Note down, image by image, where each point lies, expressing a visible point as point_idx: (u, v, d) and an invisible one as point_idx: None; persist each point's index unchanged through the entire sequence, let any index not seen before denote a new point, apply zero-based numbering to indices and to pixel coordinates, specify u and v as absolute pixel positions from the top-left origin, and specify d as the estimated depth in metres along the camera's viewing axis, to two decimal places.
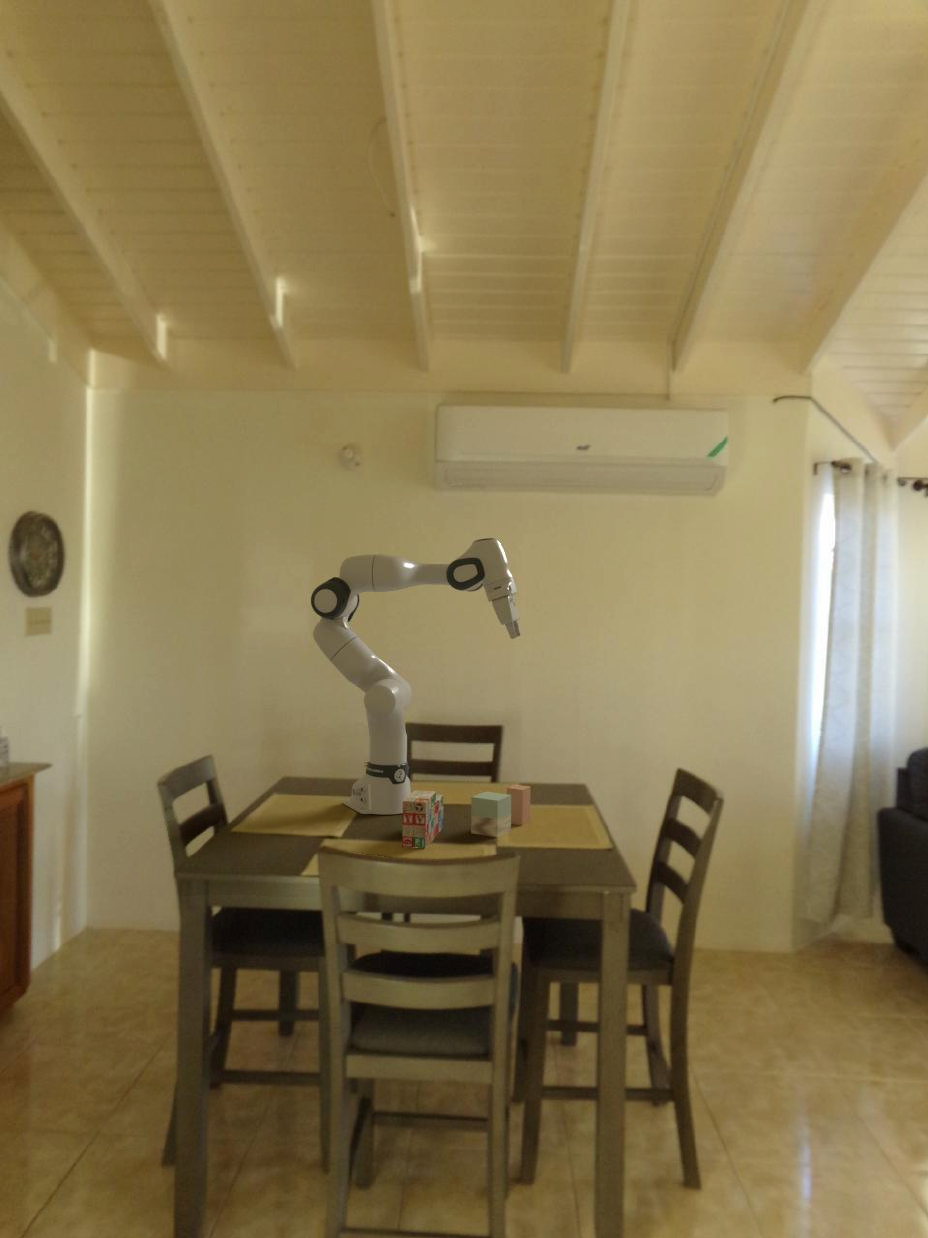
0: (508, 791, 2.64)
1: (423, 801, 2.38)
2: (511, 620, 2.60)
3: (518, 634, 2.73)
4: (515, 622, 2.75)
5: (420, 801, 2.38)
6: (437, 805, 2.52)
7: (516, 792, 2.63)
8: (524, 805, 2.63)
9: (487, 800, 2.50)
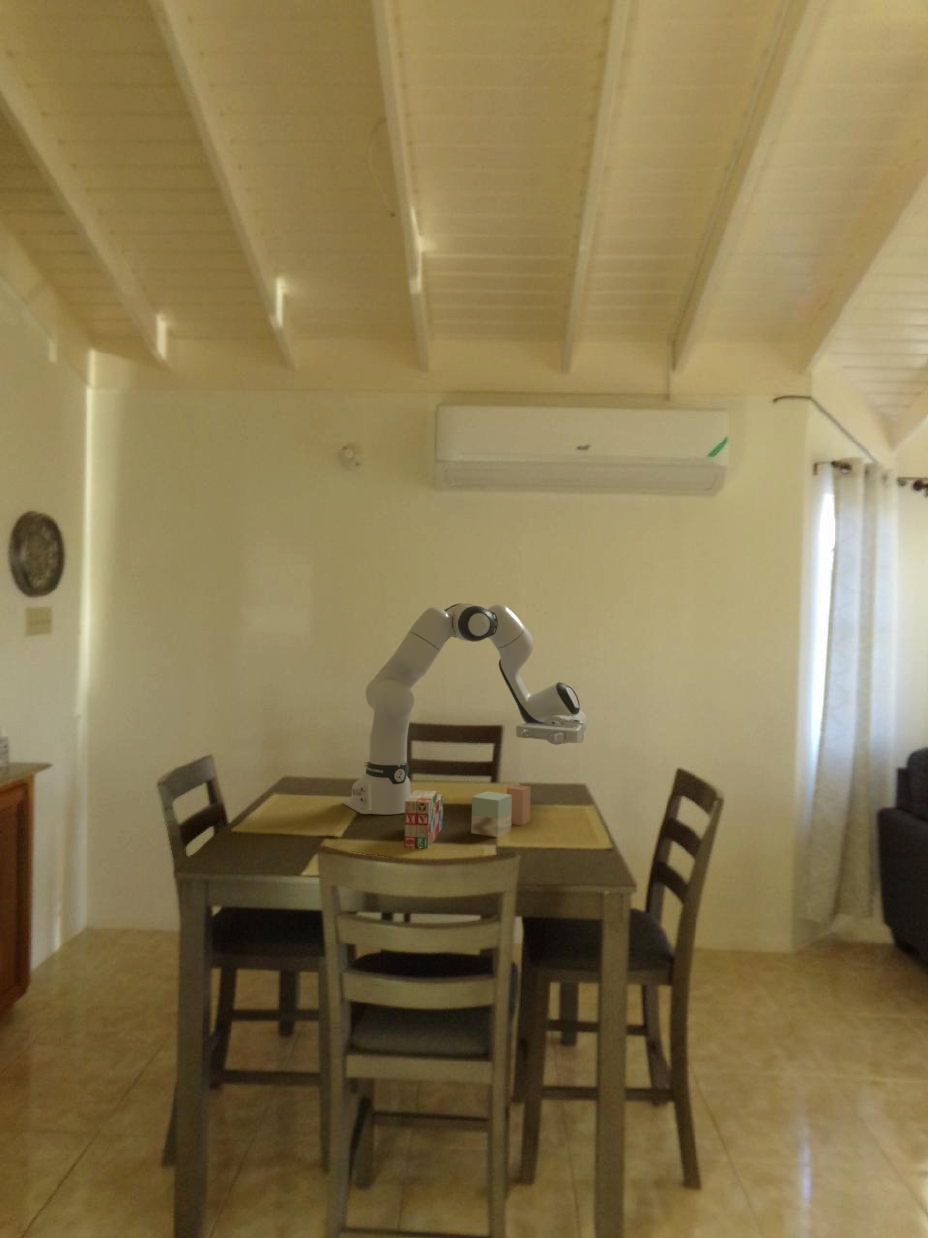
0: (508, 791, 2.64)
1: (426, 801, 2.38)
2: (575, 741, 2.75)
3: (526, 736, 2.77)
4: (528, 735, 2.81)
5: (423, 801, 2.38)
6: (437, 805, 2.52)
7: (516, 792, 2.63)
8: (524, 805, 2.63)
9: (488, 800, 2.51)
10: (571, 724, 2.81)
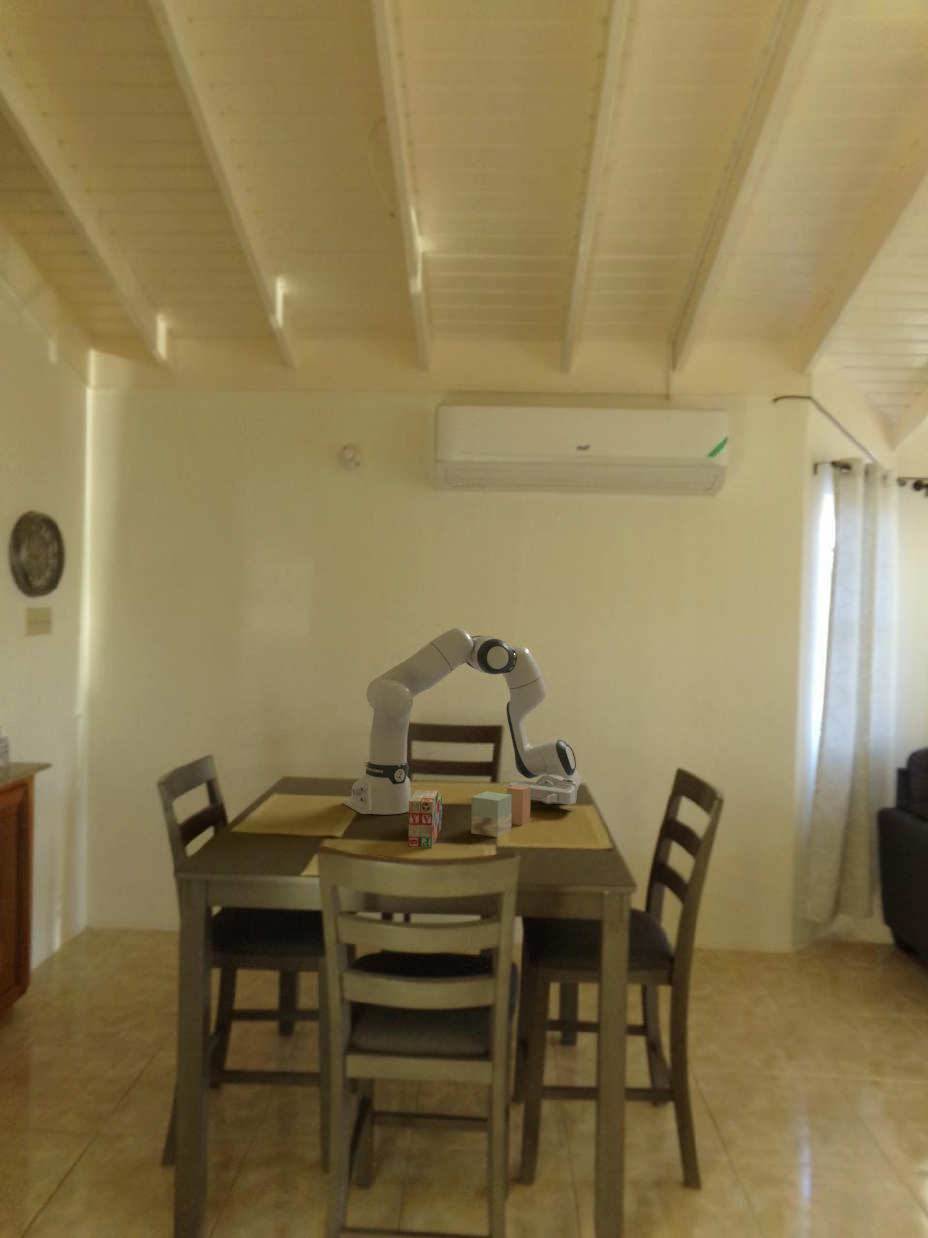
0: (508, 791, 2.64)
1: (429, 801, 2.39)
2: (568, 803, 2.73)
3: None
4: None
5: (426, 801, 2.39)
6: (438, 804, 2.52)
7: (516, 792, 2.63)
8: (524, 805, 2.63)
9: (487, 800, 2.51)
10: (564, 785, 2.79)
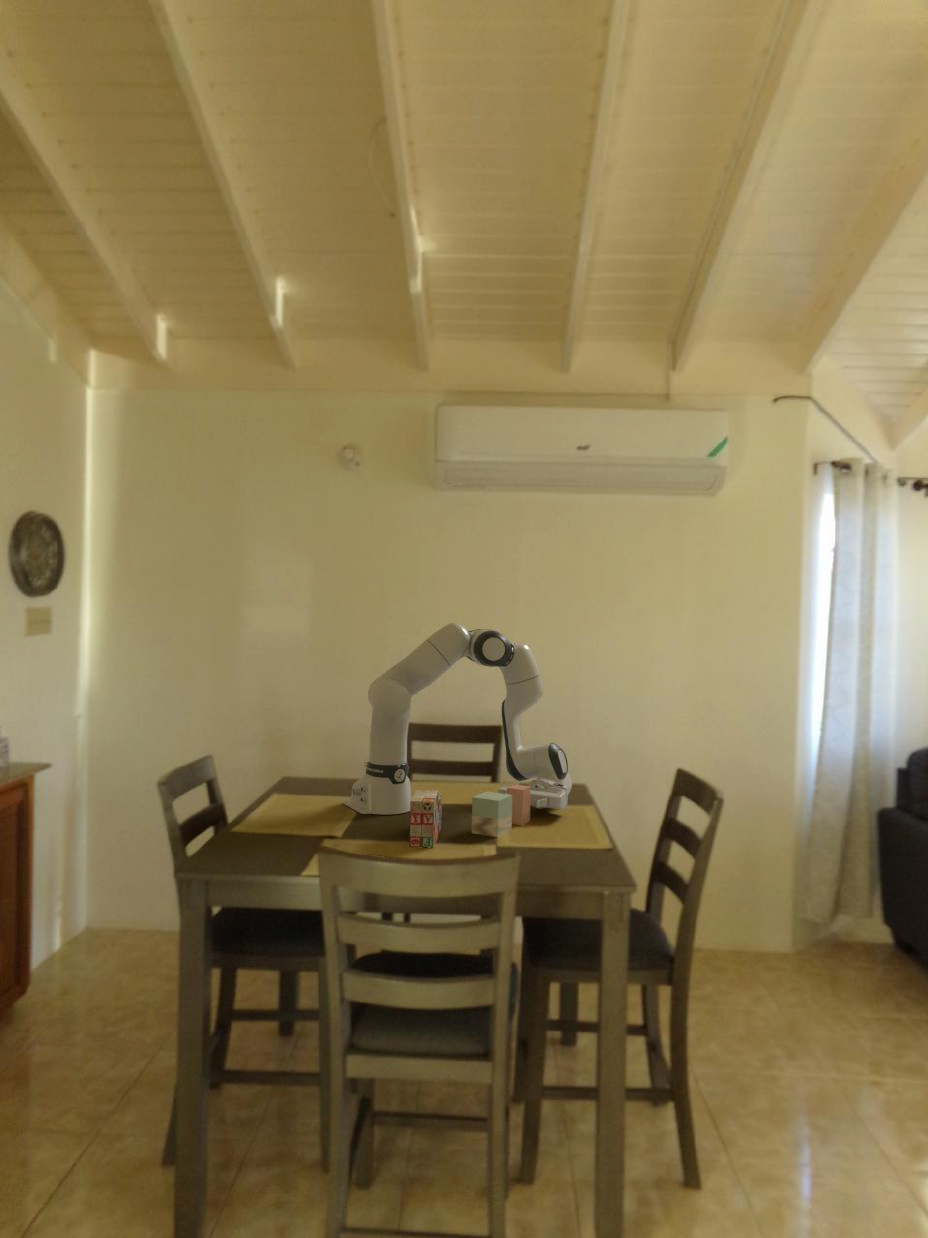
0: (508, 791, 2.64)
1: (431, 800, 2.39)
2: (558, 808, 2.66)
3: None
4: None
5: (428, 801, 2.39)
6: (438, 804, 2.52)
7: (516, 792, 2.63)
8: (524, 805, 2.63)
9: (488, 800, 2.50)
10: (555, 789, 2.73)
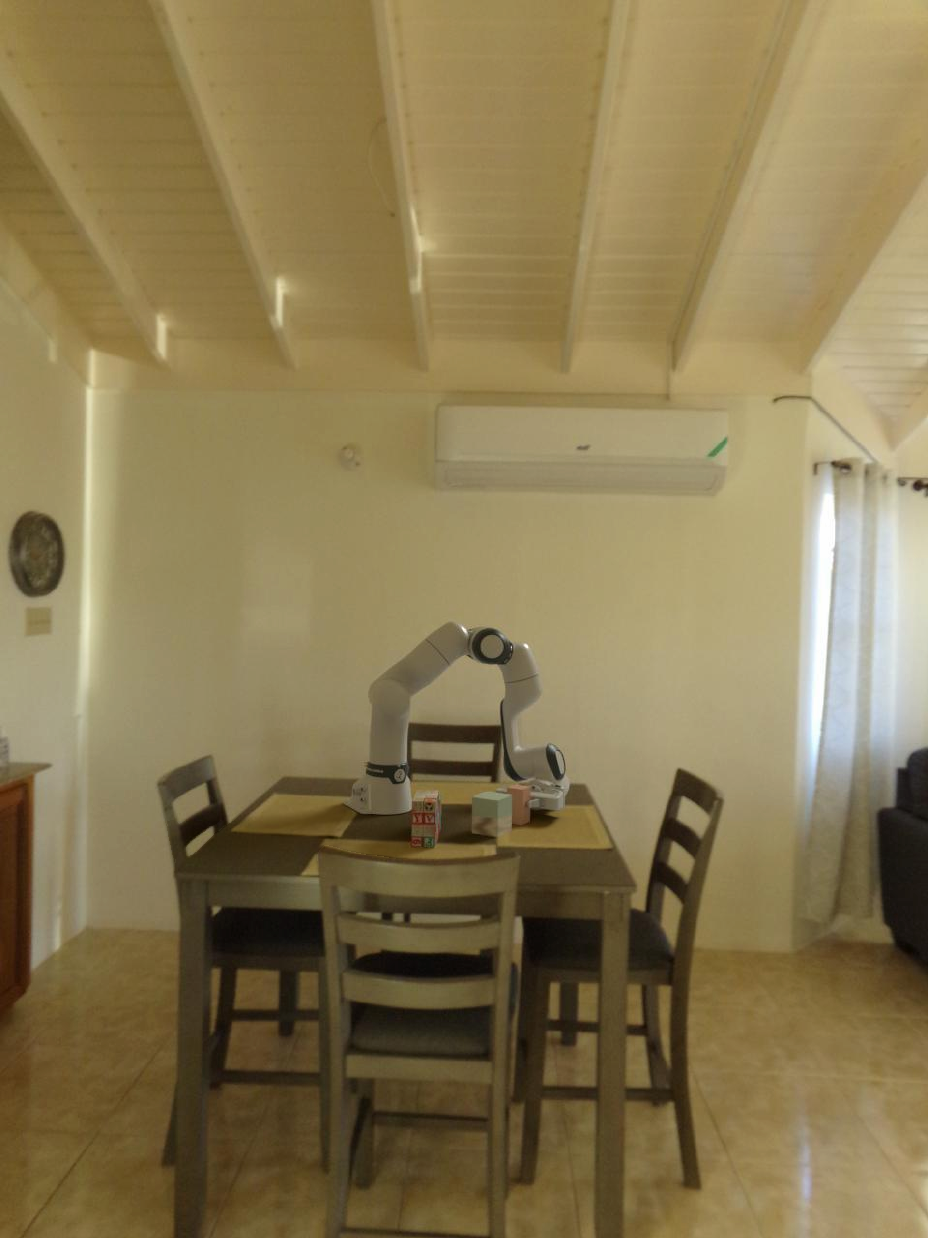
0: (508, 791, 2.64)
1: (432, 800, 2.39)
2: (555, 809, 2.64)
3: None
4: None
5: (429, 800, 2.39)
6: (438, 804, 2.53)
7: (516, 792, 2.63)
8: (524, 805, 2.63)
9: (487, 800, 2.51)
10: (552, 790, 2.71)
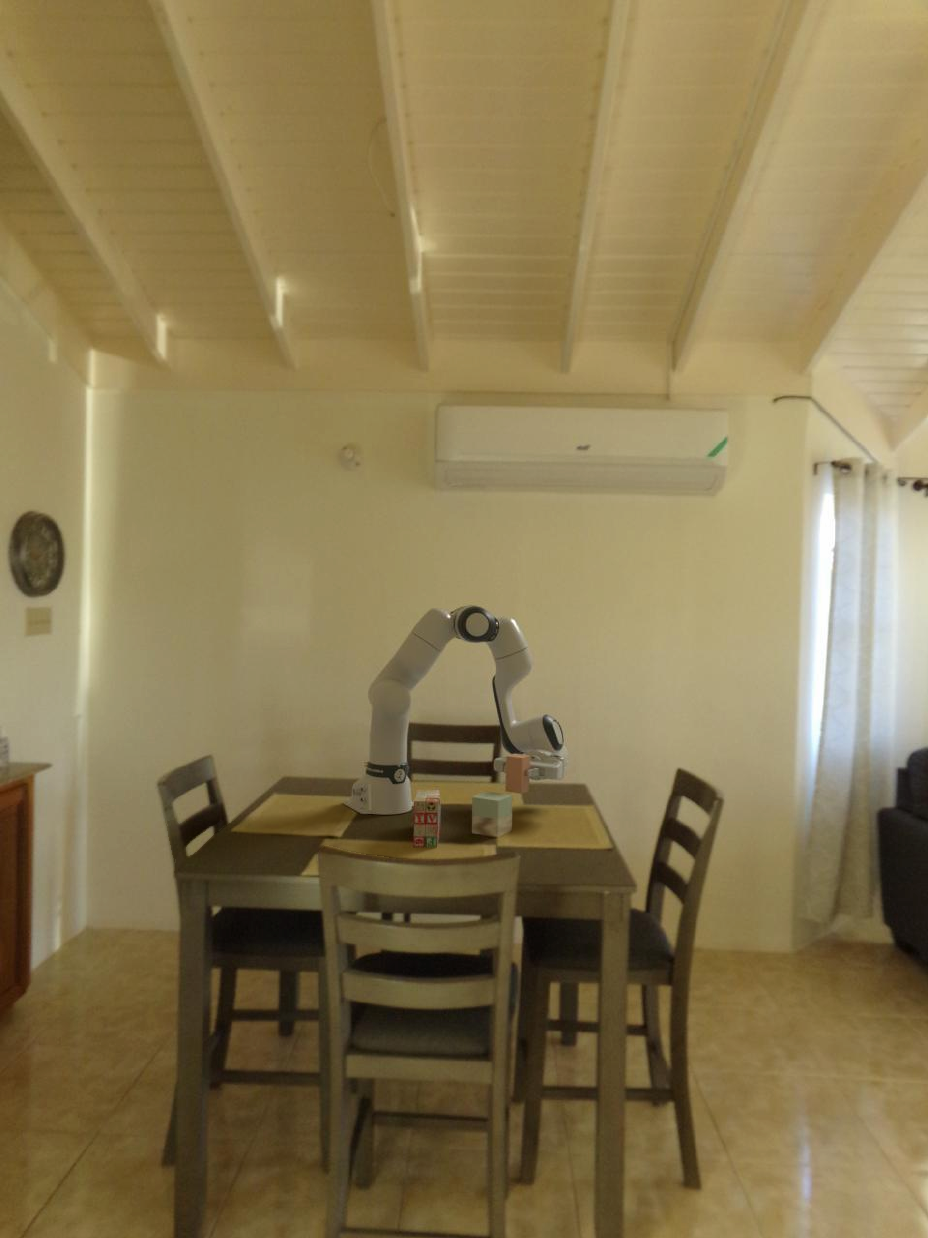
0: (507, 759, 2.64)
1: (434, 800, 2.39)
2: (554, 778, 2.64)
3: None
4: None
5: (431, 800, 2.39)
6: (439, 804, 2.53)
7: (516, 760, 2.62)
8: (523, 774, 2.63)
9: (488, 800, 2.51)
10: (551, 760, 2.71)
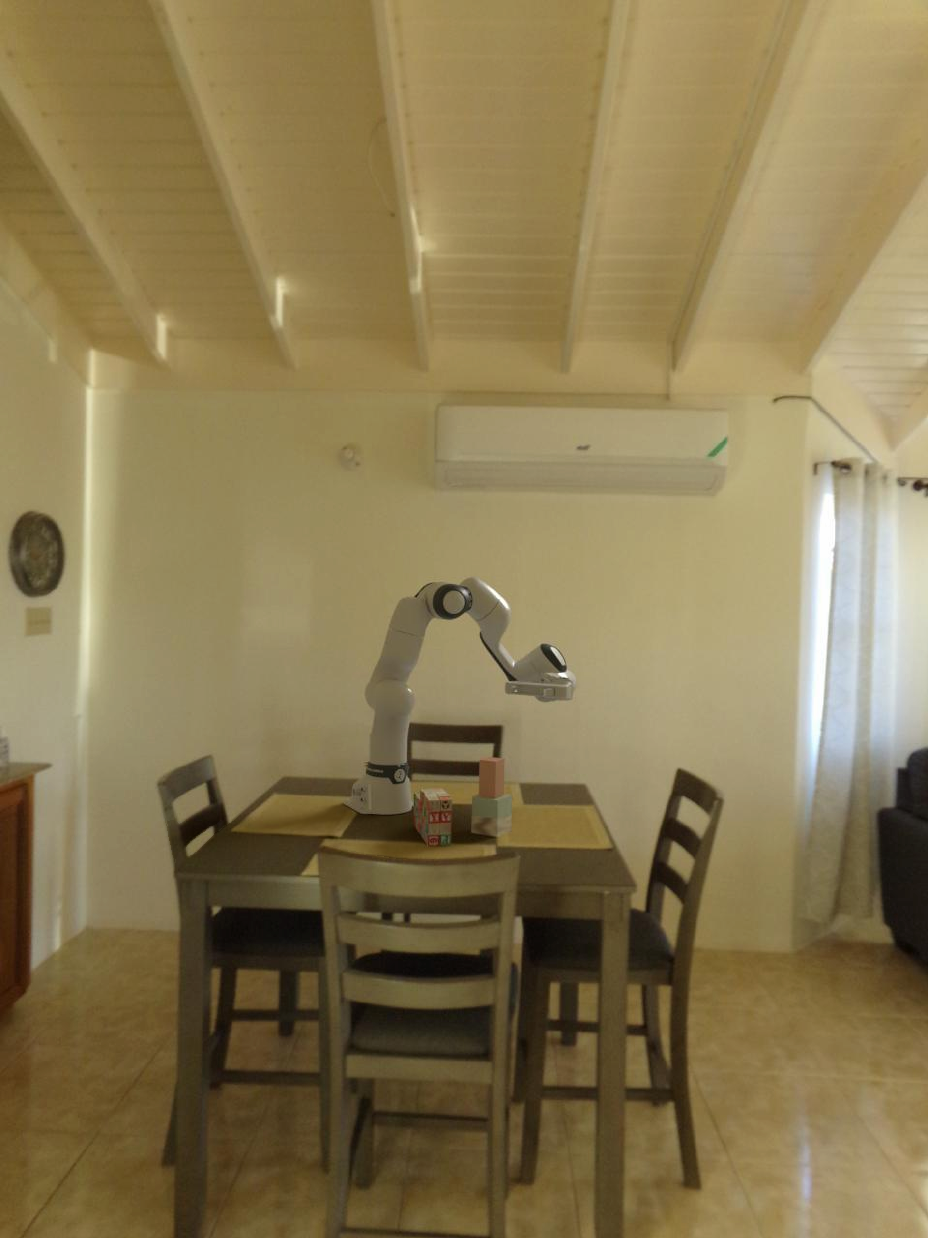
0: (480, 763, 2.53)
1: (448, 798, 2.41)
2: (564, 697, 2.73)
3: (515, 692, 2.76)
4: (517, 691, 2.80)
5: (445, 799, 2.41)
6: None
7: (489, 764, 2.52)
8: (497, 778, 2.52)
9: (487, 800, 2.51)
10: (560, 681, 2.80)
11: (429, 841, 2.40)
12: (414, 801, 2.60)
